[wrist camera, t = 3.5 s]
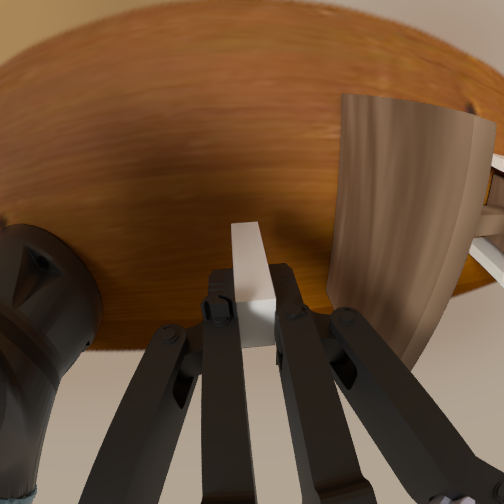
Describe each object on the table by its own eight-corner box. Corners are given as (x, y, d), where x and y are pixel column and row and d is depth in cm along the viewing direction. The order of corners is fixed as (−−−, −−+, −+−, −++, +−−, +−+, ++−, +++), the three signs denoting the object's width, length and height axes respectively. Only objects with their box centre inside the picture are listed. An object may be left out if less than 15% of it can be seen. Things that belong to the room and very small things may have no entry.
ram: (325, 291, 25) (373, 403, 15) (341, 93, 16) (474, 115, 6) (472, 266, 26) (528, 331, 16) (505, 132, 17) (590, 175, 7)
